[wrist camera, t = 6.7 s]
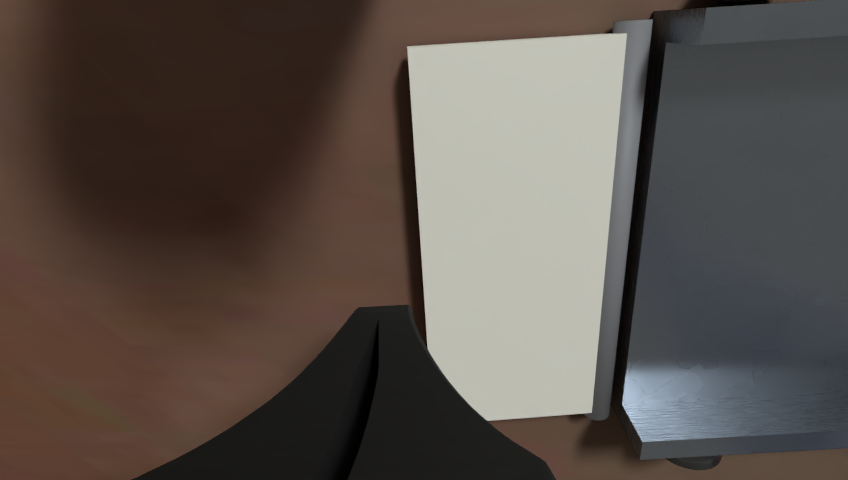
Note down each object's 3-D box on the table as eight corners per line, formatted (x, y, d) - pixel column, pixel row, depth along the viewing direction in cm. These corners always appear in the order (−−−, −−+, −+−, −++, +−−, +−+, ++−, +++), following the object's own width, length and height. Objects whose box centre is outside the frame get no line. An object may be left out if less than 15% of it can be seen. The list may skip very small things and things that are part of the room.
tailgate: (613, 419, 19) (433, 433, 18) (602, 398, 20) (431, 411, 20) (659, 18, 13) (406, 35, 13) (640, 19, 14) (406, 34, 14)
